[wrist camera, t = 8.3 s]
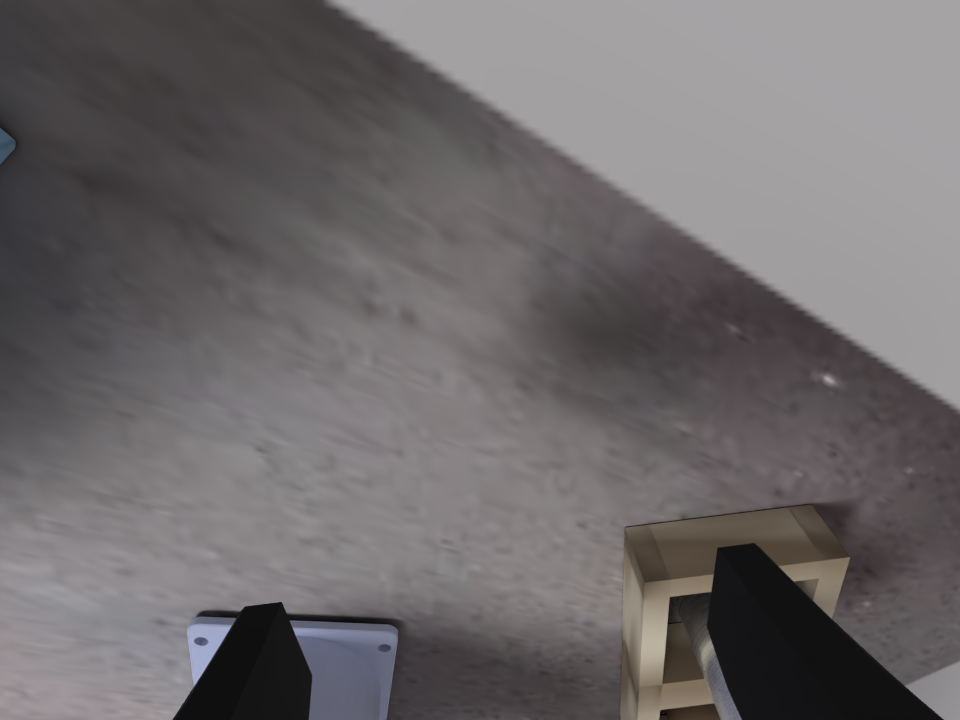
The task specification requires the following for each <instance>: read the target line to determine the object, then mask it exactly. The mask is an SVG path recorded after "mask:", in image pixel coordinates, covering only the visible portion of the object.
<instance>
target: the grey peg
mask: <svg viewBox="0 0 960 720" xmlns="http://www.w3.org/2000/svg"><path fill="white" fill-rule="evenodd" d="M672 598H673V601H674V603H675V606H676V608H677V611H678V613H679V616H680V618H681V621H682V623H683V626H684V628H685V631H686V633H687V636H688V638H689V641H690V643H691V646H692V649H693V651H694V654H695V656H696V659H697V661H698V664H699V666H700V669H701V671H702V674H703V676H704V679H705V681H706V684H707V686H708V689H709V691H710V694H711V696H712V699H713V701H714V704H715V707H716V709H717V712H718V714H719V717H720V719H721V720H742V719H741V717H740V715H739V713H738V710H737V708H736V706H735V704H734V702H733V699H732V697H731V695H730V693H729V690H728V688H727V685H726V682H725V679H724V676H723V673H722V671H721V668H720V665H719V662H718V659H717V656H716V653H715V650H714V647H713V644H712V641H711V638H710V635H709V632H708V629H707V620H708V612H709V605H710V598H711V592H706V593H698V594H690V595H682V596H674V597H672Z"/></svg>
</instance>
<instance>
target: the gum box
mask: <svg viewBox="0 0 960 720" xmlns="http://www.w3.org/2000/svg"><path fill="white" fill-rule="evenodd" d="M15 144H16V141H15V140H14V139H13V138H12V137H10V136H9V135H8V134H7V133H6V132H5V131H3V130H2V129H1V128H0V164H1V163H2V162H3V161H4V160H5V159H6V158H7V157H8V155H9V154H10V153H11V152H12V151H13V150H14V149H15Z"/></svg>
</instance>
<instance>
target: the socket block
mask: <svg viewBox="0 0 960 720" xmlns="http://www.w3.org/2000/svg"><path fill="white" fill-rule="evenodd" d="M750 543H755V544H756V545H758V546H759V547H760V548H761V549H762V550H763V551H764V552H765V553H766V554H767V555H768V556H769V557H770V558H771V559H772V560H773V561H774V562H775V563H776V564H777V565H778V566H779V567H780V568H781V569H782V570H783V571H784V572H785V573H786V574H787V575H788V576H789V577H790V578H791V579H792V580H793V581H794V582H795V583H796V584H797V585H798V586H799V587H800V588H801V589H802V590H803V591H804V592H805V593H806V594H807V595H808V596H809V597H810V598H811V599H812V600H813V601H814V602H815V603H816V604H817V605H818V606H819V607H820V608H821V609H822V610H823V611H824V612H825V613H826V614H827V615H828V616H829V617H830V618H831V619H832V617H833V613H834V610H835V607H836V603H837V600H838V597H839V594H840V590H841V587H842V584H843V580H844V577H845V574H846V570H847V567H848V564H849V560H850V556H849V555H848V553H847V552H846V551H845V549H844V548H843V546H842V545H841V544H840V542H839V541H838V540H837V538H836V537H835V536H834V534H833V533H832V532H831V530H830V529H829V528H828V526H827V525H826V523H825V522H824V521H823V519H822V518H821V517H820V515H819V514H818V513H817V511H816V510H815V509H814V507H813V506H812V505H811V504H810V505H802V506H794V507H786V508H778V509H770V510H762V511H754V512H746V513H738V514H730V515H722V516H714V517H706V518H698V519H690V520H682V521H674V522H666V523H658V524H650V525H642V526H634V527H626V528H625V542H624V582H623V622H622V663H621V703H620V720H721V719H720V717H719V714H718V712H717V709H716V707H715V704H714V701H713V699H712V696H711V694H710V691H709V689H708V686H707V684H706V681H705V679H704V676H703V674H702V671H701V669H700V666H699V664H698V661H697V659H696V656H695V654H694V651H693V649H692V646H691V643H690V641H689V638H688V636H687V633H686V631H685V628H684V626H683V623H674V624H667V623H668V611H669V599H670V597H674V596H682V595H690V594H698V593H706V592H711V590H712V583H713V576H714V569H715V561H716V554H717V548H718V547H726V546H734V545H742V544H750ZM660 710H665V713H666V715H661V716H660Z"/></svg>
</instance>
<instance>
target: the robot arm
mask: <svg viewBox="0 0 960 720" xmlns="http://www.w3.org/2000/svg"><path fill="white" fill-rule="evenodd" d="M707 629H708V632H709V635H710V638H711V641H712V644H713V647H714V650H715V653H716V656H717V659H718V662H719V665H720V668H721V671H722V673H723V676H724V679H725V682H726V685H727V688H728V690H729V693H730V695H731V697H732V699H733V702H734V704H735V706H736V708H737V710H738V713H739V715H740V717H741V719H742V720H943V719H942V718H941V717H940V716H938V714H936V713H935V712H934V711H933V710H932V709H931V708H929V707H928V706H927V705H926V704H924V703H923V702H922V701H921V700H920V699H919V698H918V697H916V696H915V695H914V694H913V693H912V692H911V691H910V690H909V689H907V688H906V687H905V686H904V685H903V684H902V683H901V682H899V681H898V680H897V679H896V678H895V677H894V676H893V675H892V674H890V673H889V672H888V671H887V670H886V669H885V668H884V667H883V666H882V665H881V664H880V663H878V662H877V661H876V660H875V659H874V658H873V657H872V656H871V655H870V654H869V653H868V652H867V651H865V650H864V649H863V648H862V647H861V646H860V645H859V644H858V643H857V642H856V641H855V640H853V639H852V638H851V637H850V636H849V635H848V634H847V633H846V632H845V631H844V630H843V629H842V628H841V627H840V626H839V625H838V624H837V623H835V622H834V621H833V620H832V619H831V618H830V617H829V616H828V615H827V614H826V613H825V612H824V611H823V610H822V609H821V608H820V607H819V606H818V605H817V604H816V603H815V602H814V601H813V600H812V599H811V598H810V597H809V596H808V595H807V594H806V593H805V592H804V591H803V590H802V589H801V588H800V587H799V586H798V585H797V584H796V583H795V582H794V581H793V580H792V579H791V578H790V577H789V576H788V575H787V574H786V573H785V572H784V571H783V570H782V569H781V568H780V567H779V566H778V565H777V564H776V563H775V562H774V561H773V560H772V559H771V558H770V557H769V556H768V555H767V554H766V553H765V552H764V551H763V550H762V549H761V548H760V547H759V546H758V545H756V544H755V543H750V544H742V545H734V546H726V547H718V548H717V554H716V561H715V569H714V576H713V583H712V590H711V598H710V605H709V612H708V620H707ZM187 636H188V643H189V651H190V659H191V667H192V675H193V683H194V688H193V689H192V691H191V692H190V694H189V696H188V697H187V699H186V700H185V702H184V703H183V705H182V706H181V708H180V709H179V711H178V712H177V714H176V715H175V717H174V718H173V720H387V713H388V706H389V699H390V692H391V685H392V678H393V671H394V664H395V657H396V650H397V643H398V630H397V629H396V627H394V626H392V625H387V624H366V623H342V622H319V621H295V620H289V618H288V616H287V613H286V611H285V609H284V606H283V604H282V602H278V603H270V604H262V605H254V606H246V607H244V608H243V610H242V611H241V612H240V613H239V615H238V617H237V618H224V617H197V618H194V619H192V620H191V621H190V624H189V626H188V629H187Z"/></svg>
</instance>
